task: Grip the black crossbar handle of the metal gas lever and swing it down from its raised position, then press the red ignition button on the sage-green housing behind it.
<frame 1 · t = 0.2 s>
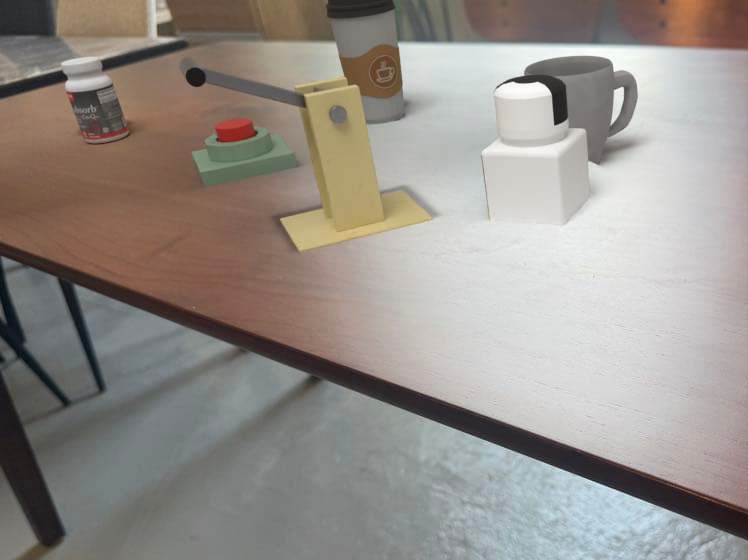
medicine bottle: (541, 220, 77), on the table
ignition button: (235, 131, 95), point 4 cm above the table, slide at 0.1 cm
lever bracket: (357, 230, 79), on the table
pill bottle: (108, 139, 115), on the table
gas lever: (268, 91, 70), point 13 cm above the table, hinge at 25.0°
mug: (588, 161, 90), on the table
coffee cup: (381, 119, 112), on the table
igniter: (246, 171, 97), on the table
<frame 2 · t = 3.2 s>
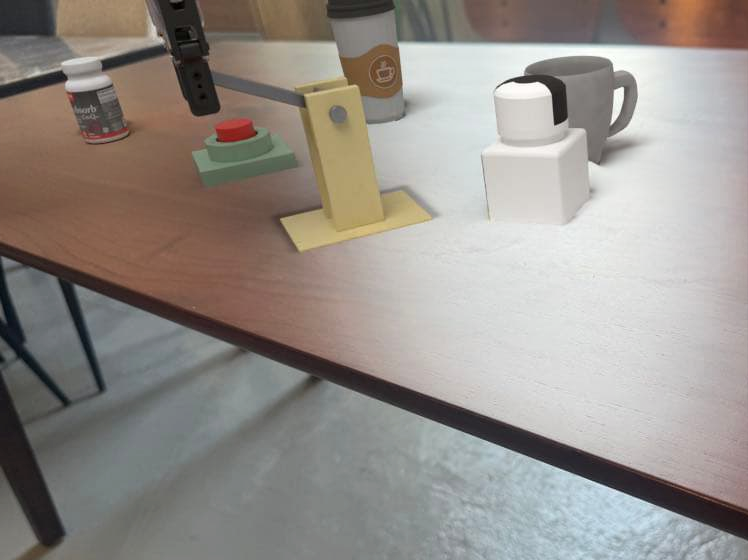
hand: (202, 105, 69), 13 cm above the table, tool pointing down, fingers closed on gas lever, 5 cm apart
gas lever: (268, 91, 70), point 13 cm above the table, hinge at 25.0°, touching gripper
everything else where it was.
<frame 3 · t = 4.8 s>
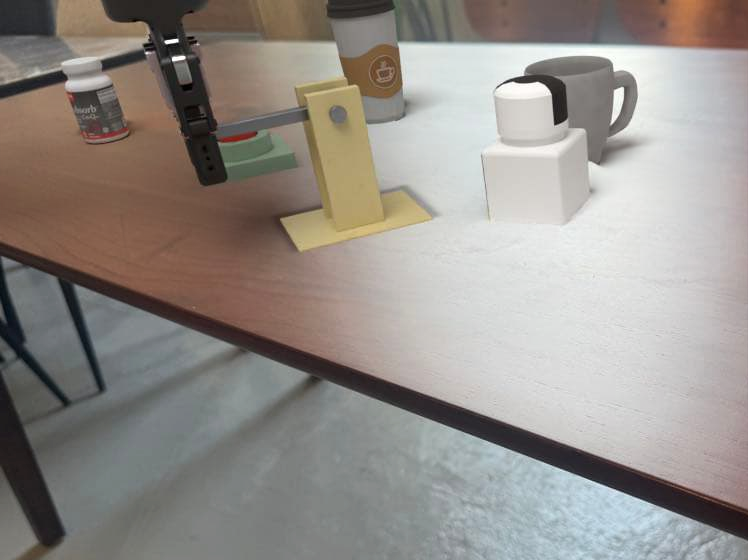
hand: (210, 173, 71), 8 cm above the table, tool pointing down, fingers closed on gas lever, 5 cm apart
gas lever: (269, 120, 71), point 11 cm above the table, hinge at -0.6°, touching gripper
everything else where it was.
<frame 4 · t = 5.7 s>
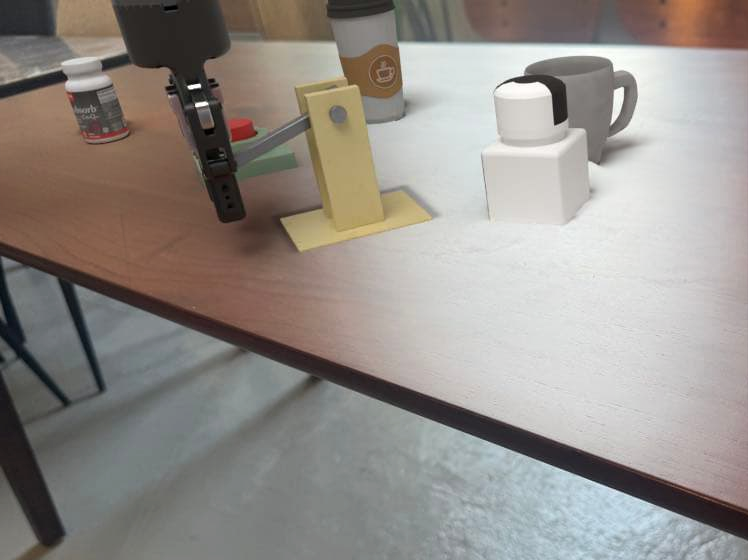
hand: (228, 209, 73), 5 cm above the table, tool pointing down, fingers closed on gas lever, 5 cm apart
gas lever: (277, 137, 72), point 9 cm above the table, hinge at -17.2°, touching gripper
everything else where it was.
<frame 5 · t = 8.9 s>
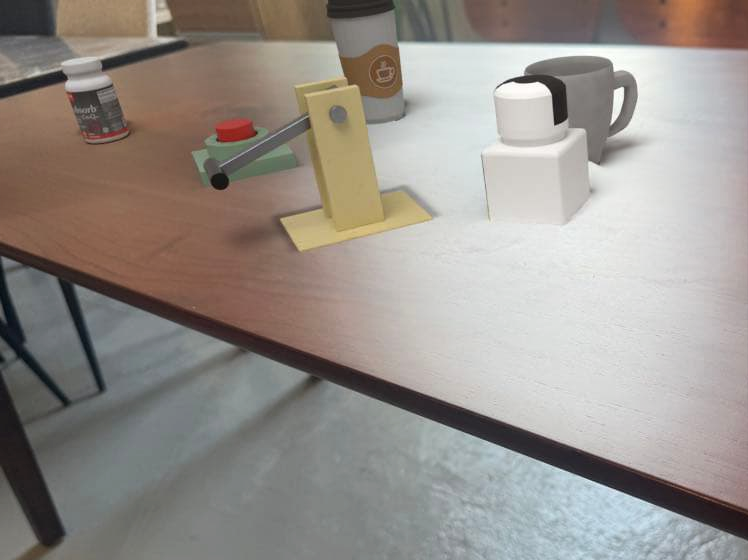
gas lever: (277, 138, 72), point 9 cm above the table, hinge at -17.8°
everything else where it was.
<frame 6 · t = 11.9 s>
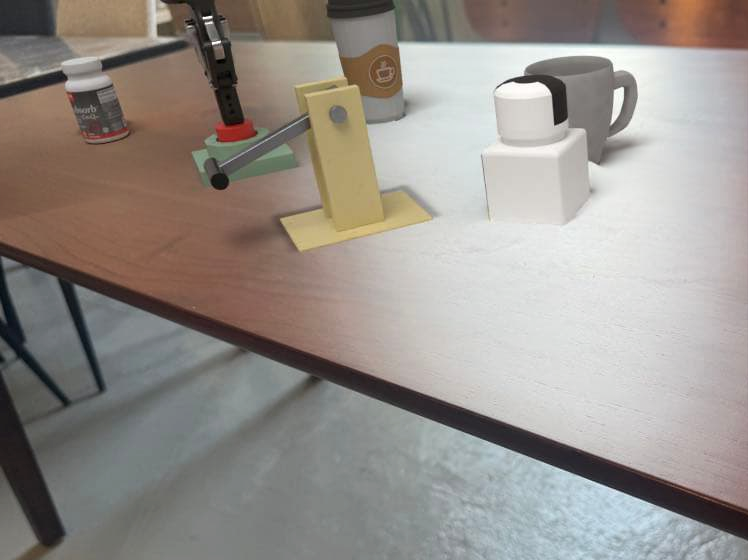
hand: (234, 123, 94), 5 cm above the table, tool pointing down, fingers closed
ignition button: (235, 131, 95), point 4 cm above the table, slide at 0.1 cm, touching gripper
everything else where it was.
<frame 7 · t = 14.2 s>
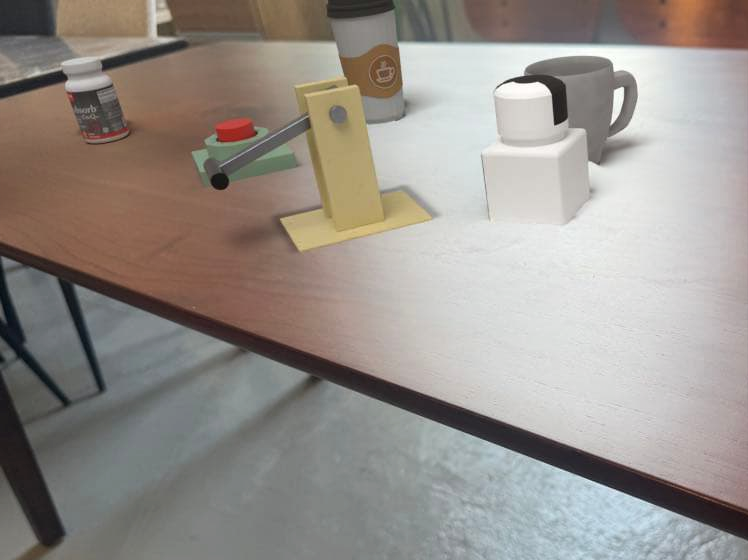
ignition button: (235, 131, 95), point 4 cm above the table, slide at 0.1 cm
everything else where it was.
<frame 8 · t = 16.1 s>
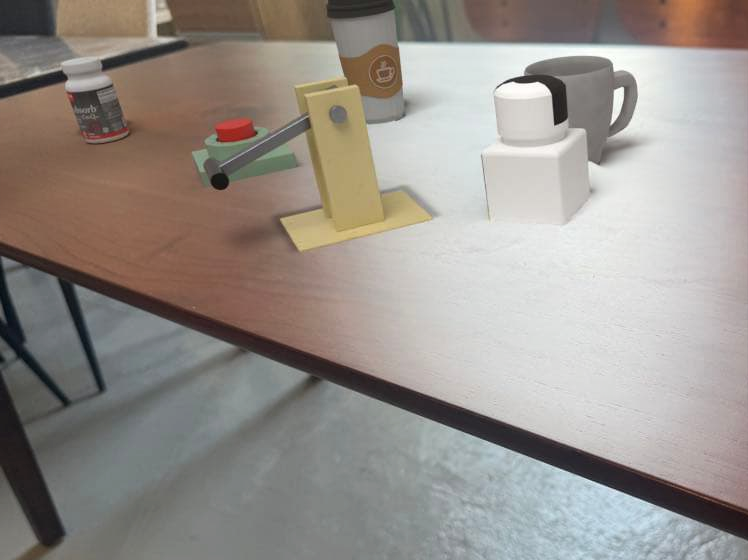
nothing on the table moved.
at the end: gas lever at -18° (first picture: +25°); ignition button pushed in 1.1 cm at the most during the clip, back to where it started at the end; ignition button slide at 0.1 cm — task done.
